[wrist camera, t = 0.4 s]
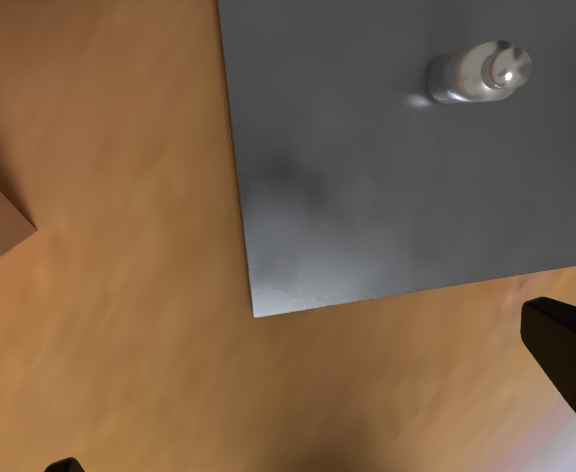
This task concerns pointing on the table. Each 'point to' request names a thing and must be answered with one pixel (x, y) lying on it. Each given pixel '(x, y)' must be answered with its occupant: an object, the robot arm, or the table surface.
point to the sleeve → (12, 226)
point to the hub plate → (399, 144)
